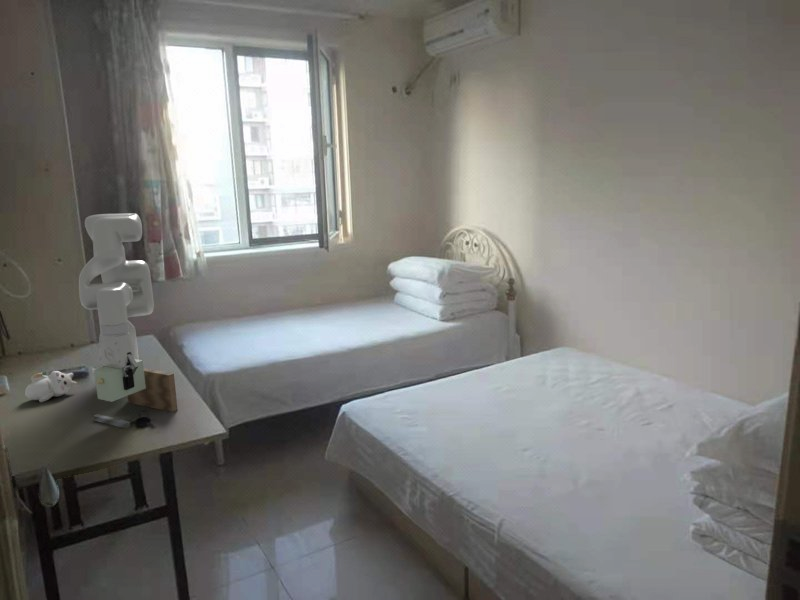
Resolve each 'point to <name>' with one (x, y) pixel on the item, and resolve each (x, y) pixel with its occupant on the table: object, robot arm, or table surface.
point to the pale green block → (117, 382)
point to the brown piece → (149, 396)
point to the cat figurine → (49, 385)
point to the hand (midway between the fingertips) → (121, 386)
